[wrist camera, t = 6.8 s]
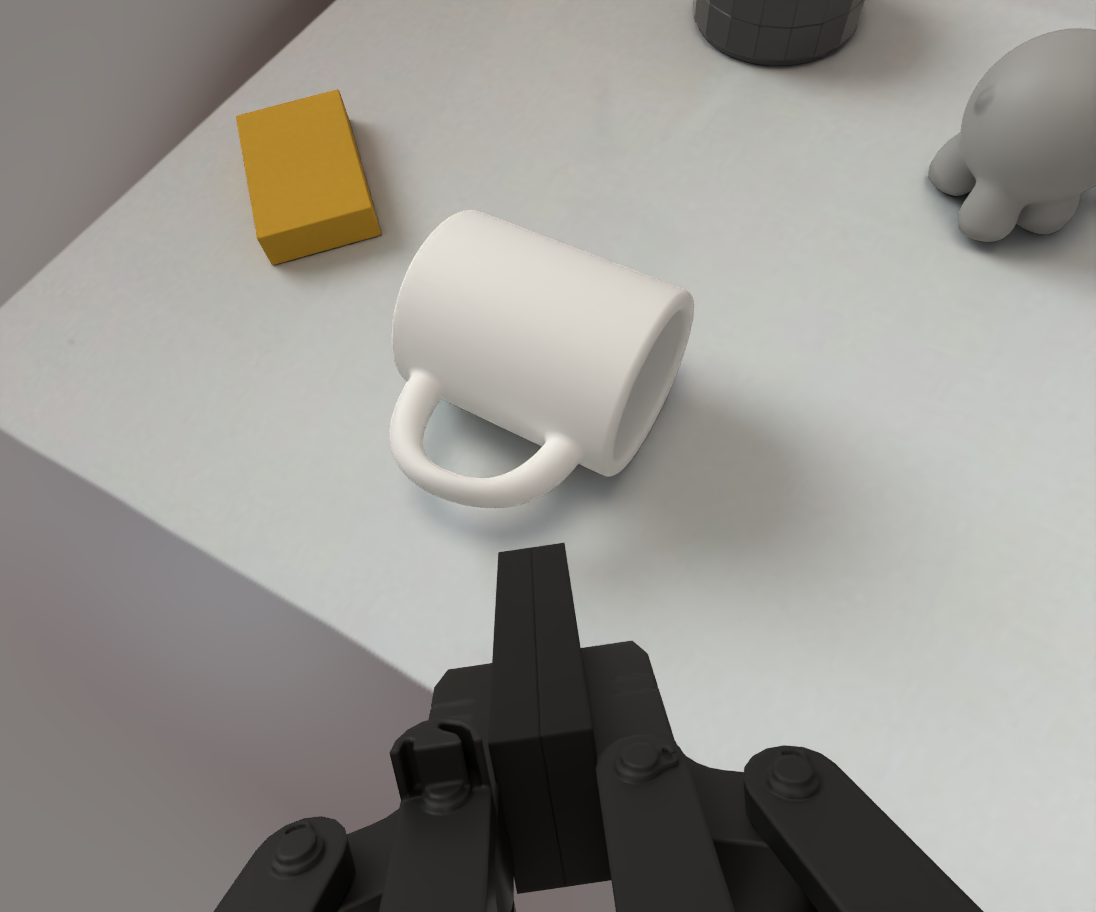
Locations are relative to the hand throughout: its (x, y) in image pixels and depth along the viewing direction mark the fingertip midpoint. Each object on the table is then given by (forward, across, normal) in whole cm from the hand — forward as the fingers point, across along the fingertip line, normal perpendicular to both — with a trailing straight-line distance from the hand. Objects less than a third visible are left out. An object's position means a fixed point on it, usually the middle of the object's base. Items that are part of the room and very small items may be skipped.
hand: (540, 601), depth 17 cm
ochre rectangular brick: (+30, -10, +12) cm, 34 cm away
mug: (+18, 0, -1) cm, 18 cm away
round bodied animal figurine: (+24, +28, +6) cm, 37 cm away
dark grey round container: (+37, +18, +18) cm, 45 cm away
